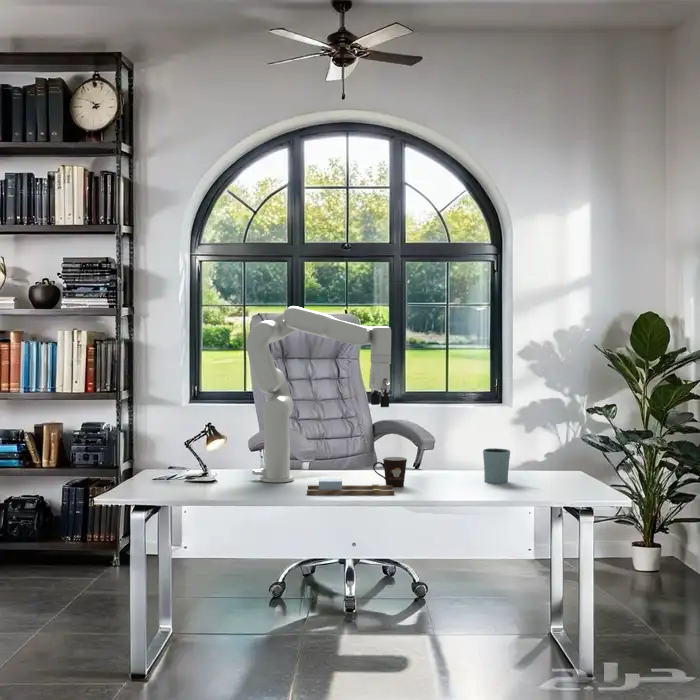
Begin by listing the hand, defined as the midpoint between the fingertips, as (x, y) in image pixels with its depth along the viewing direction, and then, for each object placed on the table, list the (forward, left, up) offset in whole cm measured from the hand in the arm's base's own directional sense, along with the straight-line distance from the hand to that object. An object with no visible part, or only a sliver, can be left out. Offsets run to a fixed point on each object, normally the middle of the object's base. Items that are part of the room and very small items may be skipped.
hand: (379, 405), depth 334 cm
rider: (-18, -19, -29) cm, 39 cm away
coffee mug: (+4, -6, -29) cm, 30 cm away
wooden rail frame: (-11, -19, -29) cm, 36 cm away
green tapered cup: (+44, +2, -29) cm, 52 cm away
